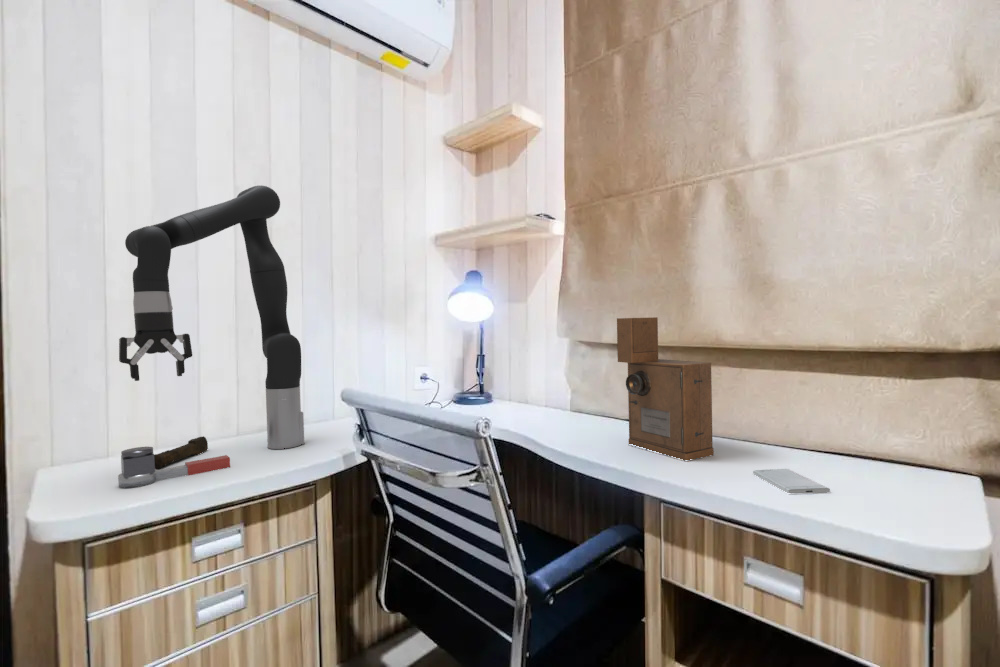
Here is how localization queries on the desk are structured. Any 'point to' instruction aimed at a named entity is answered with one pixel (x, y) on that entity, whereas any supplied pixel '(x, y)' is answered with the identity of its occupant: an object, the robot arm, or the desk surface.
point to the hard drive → (790, 481)
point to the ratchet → (175, 472)
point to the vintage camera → (664, 394)
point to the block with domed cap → (137, 461)
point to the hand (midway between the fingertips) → (158, 378)
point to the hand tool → (181, 452)
